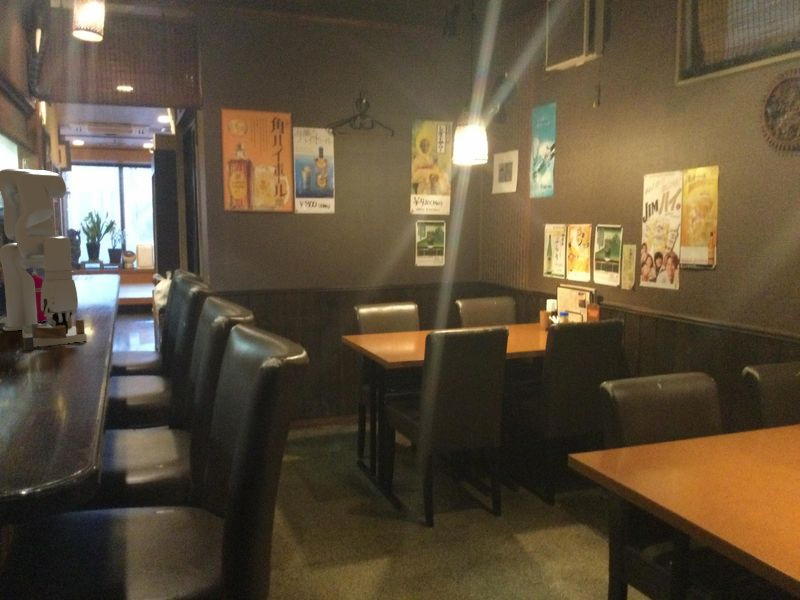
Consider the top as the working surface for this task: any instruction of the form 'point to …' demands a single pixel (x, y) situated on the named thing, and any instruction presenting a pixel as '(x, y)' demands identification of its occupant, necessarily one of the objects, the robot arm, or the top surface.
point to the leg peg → (52, 322)
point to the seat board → (73, 336)
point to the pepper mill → (38, 296)
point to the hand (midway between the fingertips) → (62, 333)
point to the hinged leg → (51, 332)
